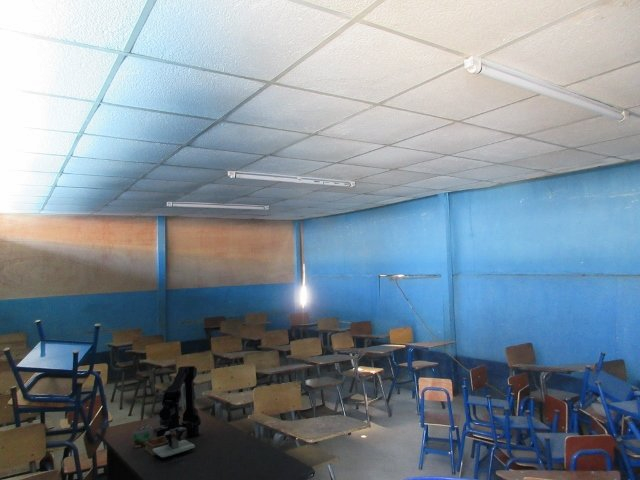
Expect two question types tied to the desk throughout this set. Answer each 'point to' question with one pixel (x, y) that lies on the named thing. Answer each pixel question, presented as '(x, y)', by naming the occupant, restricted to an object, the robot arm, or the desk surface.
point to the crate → (157, 443)
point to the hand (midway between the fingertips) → (173, 446)
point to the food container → (142, 435)
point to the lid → (173, 448)
